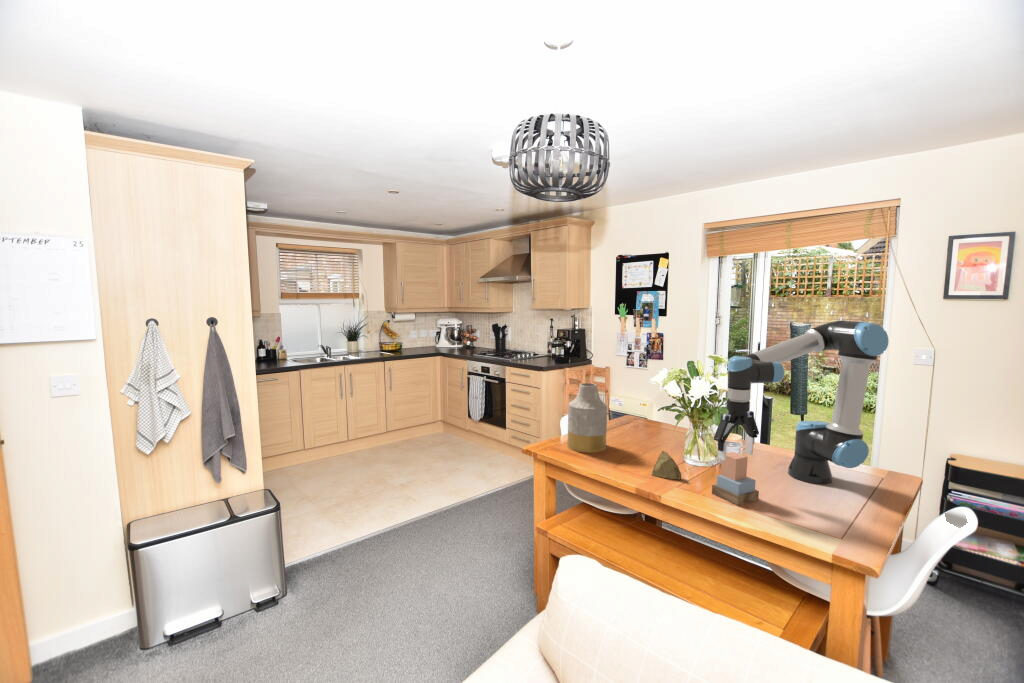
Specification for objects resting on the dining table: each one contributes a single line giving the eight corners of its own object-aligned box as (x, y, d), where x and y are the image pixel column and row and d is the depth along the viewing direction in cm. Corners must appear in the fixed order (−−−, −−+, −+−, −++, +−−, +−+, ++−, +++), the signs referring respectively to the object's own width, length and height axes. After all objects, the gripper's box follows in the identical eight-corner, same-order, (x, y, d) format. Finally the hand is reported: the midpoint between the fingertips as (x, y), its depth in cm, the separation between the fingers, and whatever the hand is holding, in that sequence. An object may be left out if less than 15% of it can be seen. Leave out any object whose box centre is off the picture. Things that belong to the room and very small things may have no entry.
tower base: (731, 490, 178) (732, 480, 178) (758, 501, 168) (758, 491, 168) (711, 495, 173) (712, 484, 173) (737, 507, 164) (737, 496, 163)
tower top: (733, 481, 176) (733, 471, 176) (754, 490, 168) (755, 480, 168) (716, 485, 172) (717, 475, 172) (738, 495, 164) (738, 484, 164)
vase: (566, 440, 234) (567, 380, 231) (602, 441, 233) (604, 381, 230) (569, 452, 216) (570, 388, 213) (608, 453, 215) (611, 388, 212)
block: (732, 472, 175) (733, 451, 174) (746, 478, 170) (747, 456, 169) (720, 475, 172) (722, 454, 171) (734, 480, 167) (736, 459, 166)
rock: (689, 473, 187) (670, 461, 195) (682, 459, 183) (663, 448, 191) (671, 491, 184) (652, 479, 193) (664, 478, 180) (646, 466, 189)
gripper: (753, 394, 176) (750, 448, 179) (704, 400, 166) (702, 458, 169) (771, 398, 169) (768, 454, 172) (721, 405, 159) (718, 465, 162)
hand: (735, 456), depth 170 cm, fingers open, 13 cm apart
